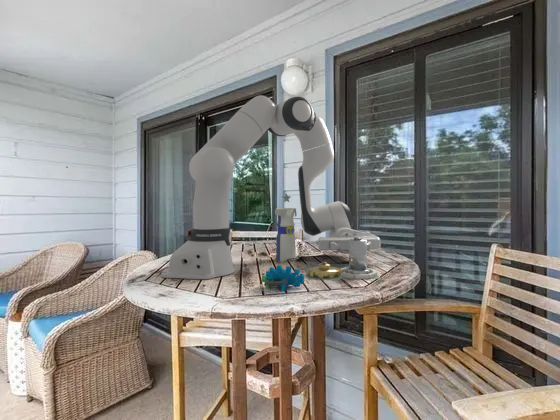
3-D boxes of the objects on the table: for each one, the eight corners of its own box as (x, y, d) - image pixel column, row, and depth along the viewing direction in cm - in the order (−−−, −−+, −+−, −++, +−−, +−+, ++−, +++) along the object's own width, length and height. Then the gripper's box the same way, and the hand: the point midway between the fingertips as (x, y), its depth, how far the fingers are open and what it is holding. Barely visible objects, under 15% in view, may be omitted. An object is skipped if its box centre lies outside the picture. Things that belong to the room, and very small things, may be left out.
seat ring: (343, 278, 91) (343, 275, 91) (337, 270, 101) (337, 267, 101) (380, 278, 91) (380, 274, 91) (370, 269, 101) (370, 266, 101)
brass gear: (308, 278, 91) (308, 265, 91) (306, 270, 101) (306, 259, 101) (343, 278, 91) (343, 265, 91) (337, 270, 101) (337, 258, 101)
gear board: (308, 283, 91) (308, 279, 91) (303, 268, 110) (303, 264, 110) (381, 282, 91) (381, 278, 91) (364, 267, 110) (364, 263, 110)
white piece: (302, 260, 123) (301, 193, 122) (282, 262, 119) (281, 193, 118) (290, 256, 130) (289, 193, 129) (271, 259, 126) (270, 193, 125)
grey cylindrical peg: (347, 277, 92) (347, 239, 92) (343, 271, 100) (343, 236, 99) (373, 277, 92) (373, 239, 92) (367, 271, 100) (367, 236, 99)
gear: (309, 283, 85) (298, 261, 79) (308, 304, 81) (296, 283, 75) (270, 285, 89) (256, 265, 82) (266, 306, 85) (251, 286, 78)
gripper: (315, 232, 116) (319, 237, 102) (373, 231, 116) (385, 236, 102) (315, 250, 116) (319, 257, 103) (373, 249, 116) (385, 256, 102)
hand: (353, 247), depth 102 cm, fingers open, 8 cm apart
